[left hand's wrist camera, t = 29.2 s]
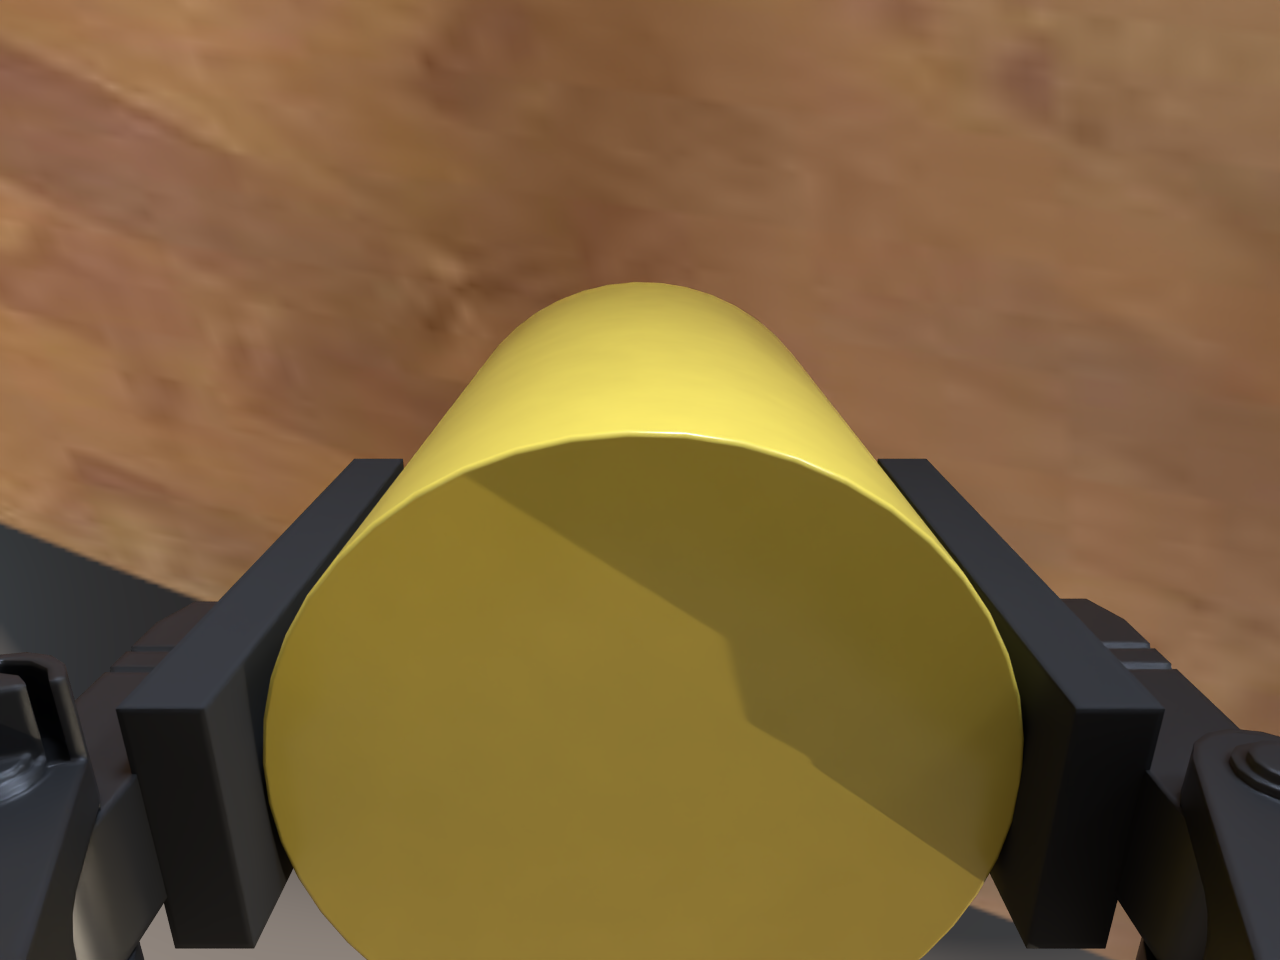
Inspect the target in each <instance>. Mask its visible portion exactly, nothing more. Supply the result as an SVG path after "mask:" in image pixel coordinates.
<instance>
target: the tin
mask: <svg viewBox="0 0 1280 960" xmlns="http://www.w3.org/2000/svg"><path fill="white" fill-rule="evenodd" d="M1023 746H1024V734H1023V723H1022V713H1021V703H1020V695H1019V691H1018V687H1017V683H1016V680H1015V676H1014V672H1013V668H1012V665H1011V661H1010V657H1009V654H1008V651H1007V649H1006V647H1005V645H1004V643H1003V640H1002V638H1001V636H1000V634H999V631H998V629H997V627H996V625H995V622H994V620H993V618H992V616H991V614H990V612H989V610H988V609H987V607H986V606H985V604H984V603H983V601H982V600H981V598H980V597H979V595H978V594H977V592H976V591H975V589H974V588H973V586H972V584H971V583H970V581H969V580H968V578H967V577H966V575H965V574H964V573H963V571H962V570H961V569H960V567H959V566H958V565H957V564H956V562H955V561H954V560H953V559H952V557H951V556H950V555H949V553H948V552H947V551H946V550H945V548H944V547H943V546H942V545H941V543H940V542H939V541H938V539H937V538H936V537H935V536H934V534H933V533H932V532H931V530H930V529H929V528H928V527H927V525H926V524H925V523H924V522H923V520H922V519H921V518H920V516H919V515H918V514H917V513H916V511H915V510H914V509H913V508H912V506H911V505H910V504H909V502H908V501H907V500H906V499H905V497H904V496H903V495H902V494H901V492H900V491H899V490H898V488H897V487H896V486H895V485H894V483H893V482H892V481H891V480H890V478H889V477H888V476H887V474H886V473H885V472H884V471H883V469H882V468H881V467H880V465H879V464H878V463H877V462H876V460H875V459H874V458H873V457H872V455H871V454H870V453H869V451H868V450H867V449H866V448H865V446H864V445H863V444H862V443H861V441H860V440H859V439H858V437H857V436H856V435H855V434H854V432H853V431H852V430H851V429H850V427H849V426H848V425H847V423H846V422H845V421H844V420H843V418H842V417H841V416H840V414H839V413H838V412H837V411H836V409H835V408H834V407H833V406H832V404H831V403H830V402H829V400H828V399H827V398H826V397H825V395H824V394H823V393H822V392H821V390H820V389H819V388H818V386H817V385H816V384H815V383H814V381H813V380H812V379H811V378H810V376H809V375H808V374H807V372H806V371H805V370H804V369H803V367H802V366H801V365H800V363H799V362H798V361H797V360H796V358H795V357H794V356H793V355H792V353H791V352H790V351H789V350H788V349H787V348H786V347H785V346H784V344H783V343H782V342H781V341H780V340H779V339H778V338H777V337H776V336H775V335H774V334H773V333H772V332H771V331H770V330H768V329H767V328H766V327H765V326H764V325H763V324H761V323H760V322H759V321H758V320H757V319H755V318H754V317H752V316H750V315H749V314H747V313H746V312H744V311H743V310H741V309H739V308H738V307H736V306H735V305H733V304H730V303H728V302H726V301H724V300H722V299H720V298H717V297H715V296H713V295H710V294H707V293H704V292H701V291H697V290H694V289H691V288H688V287H682V286H676V285H670V284H664V283H647V282H631V283H621V284H612V285H606V286H601V287H597V288H593V289H589V290H585V291H582V292H579V293H576V294H574V295H571V296H569V297H566V298H563V299H561V300H558V301H557V302H555V303H553V304H551V305H549V306H548V307H546V308H544V309H542V310H540V311H539V312H537V313H535V314H534V315H533V316H531V317H530V318H529V319H527V320H526V321H525V322H523V323H522V324H521V325H519V326H518V327H517V328H515V329H514V330H513V331H512V332H511V333H510V334H509V335H508V336H507V337H506V338H505V339H504V340H503V341H502V342H501V343H500V344H499V345H498V346H497V348H496V349H495V350H494V352H493V353H492V354H491V356H490V357H489V358H488V359H487V361H486V362H485V363H484V365H483V366H482V367H481V369H480V370H479V371H478V372H477V374H476V375H475V376H474V378H473V379H472V380H471V382H470V383H469V384H468V386H467V387H466V388H465V389H464V391H463V392H462V393H461V395H460V396H459V397H458V399H457V400H456V401H455V403H454V404H453V405H452V406H451V408H450V409H449V410H448V412H447V413H446V414H445V416H444V417H443V418H442V420H441V421H440V422H439V423H438V425H437V426H436V427H435V429H434V430H433V431H432V433H431V434H430V435H429V436H428V438H427V439H426V440H425V442H424V443H423V444H422V446H421V447H420V448H419V450H418V451H417V452H416V453H415V455H414V456H413V457H412V459H411V460H410V461H409V463H408V464H407V465H406V467H405V468H404V469H403V470H402V472H401V473H400V474H399V476H398V477H397V478H396V480H395V481H394V482H393V484H392V485H391V486H390V487H389V489H388V490H387V491H386V493H385V494H384V495H383V497H382V498H381V499H380V500H379V502H378V503H377V504H376V506H375V507H374V508H373V510H372V511H371V512H370V514H369V515H368V516H367V517H366V519H365V520H364V521H363V523H362V524H361V525H360V527H359V528H358V529H357V531H356V532H355V533H354V534H353V536H352V537H351V538H350V540H349V541H348V542H347V544H346V545H345V546H344V548H343V549H342V550H341V551H340V553H339V554H338V555H337V557H336V558H335V559H334V561H333V562H332V563H331V565H330V566H329V567H328V568H327V570H326V571H325V572H324V574H323V575H322V576H321V578H320V579H319V580H318V582H317V583H316V584H315V585H314V587H313V588H312V589H311V591H310V592H309V593H308V595H307V596H306V598H305V600H304V602H303V604H302V605H301V607H300V609H299V611H298V613H297V615H296V617H295V618H294V620H293V622H292V624H291V626H290V628H289V629H288V631H287V633H286V635H285V638H284V640H283V643H282V646H281V649H280V652H279V655H278V658H277V660H276V663H275V666H274V669H273V672H272V675H271V678H270V684H269V690H268V695H267V701H266V707H265V712H264V718H263V767H264V773H265V780H266V787H267V794H268V800H269V805H270V808H271V812H272V815H273V818H274V821H275V824H276V828H277V831H278V834H279V837H280V840H281V843H282V845H283V847H284V849H285V851H286V853H287V855H288V858H289V860H290V862H291V864H292V866H293V868H294V870H295V872H296V874H297V876H298V878H299V880H300V881H301V883H302V884H303V886H304V887H305V889H306V890H307V892H308V893H309V895H310V896H311V898H312V899H313V901H314V902H315V904H316V905H317V907H318V908H319V910H320V911H321V913H322V914H323V915H324V916H325V917H326V918H327V919H328V921H329V922H330V923H331V924H332V925H333V926H334V927H335V929H336V930H337V931H338V932H339V933H340V934H341V935H342V937H343V938H344V939H345V940H346V941H347V942H348V943H349V944H350V945H351V946H352V947H353V948H354V949H356V950H357V951H358V952H359V953H360V954H361V955H362V956H363V957H365V958H366V959H367V960H919V959H921V958H922V957H923V956H924V955H925V954H926V953H927V952H928V951H929V950H930V949H931V948H932V947H933V946H934V945H935V944H936V943H937V942H938V941H939V940H940V939H941V938H942V937H943V936H944V935H945V934H946V933H947V932H948V931H949V930H950V929H951V928H952V927H953V926H954V924H955V923H956V922H957V920H958V919H959V918H960V917H961V915H962V914H963V912H964V911H965V910H966V909H967V907H968V906H969V905H970V903H971V902H972V901H973V899H974V898H975V897H976V895H977V894H978V893H979V891H980V889H981V887H982V885H983V884H984V882H985V880H986V878H987V877H988V875H989V873H990V871H991V870H992V868H993V866H994V864H995V863H996V861H997V859H998V857H999V854H1000V851H1001V849H1002V846H1003V844H1004V841H1005V839H1006V836H1007V833H1008V831H1009V828H1010V826H1011V823H1012V819H1013V814H1014V809H1015V804H1016V799H1017V794H1018V789H1019V783H1020V778H1021V771H1022V762H1023Z"/></svg>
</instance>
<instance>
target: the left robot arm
mask: <svg viewBox="0 0 1280 960" xmlns="http://www.w3.org/2000/svg"><path fill="white" fill-rule="evenodd" d="M877 463H878V464H879V465H880V467H881V468H882V469H883V471H884V472H885V473H886V474H887V476H888V477H889V478H890V480H891V481H892V482H893V483H894V485H895V486H896V487H897V488H898V490H899V491H900V492H901V494H902V495H903V496H904V497H905V499H906V500H907V501H908V502H909V504H910V505H911V506H912V508H913V509H914V510H915V511H916V513H917V514H918V515H919V516H920V518H921V519H922V520H923V522H924V523H925V524H926V525H927V527H928V528H929V529H930V530H931V532H932V533H933V534H934V536H935V537H936V538H937V539H938V541H939V542H940V543H941V545H942V546H943V547H944V548H945V550H946V551H947V552H948V553H949V555H950V556H951V557H952V559H953V560H954V561H955V562H956V564H957V565H958V566H959V567H960V569H961V570H962V571H963V573H964V574H965V575H966V577H967V578H968V580H969V581H970V583H971V584H972V586H973V588H974V589H975V591H976V592H977V594H978V595H979V597H980V598H981V600H982V601H983V603H984V604H985V606H986V607H987V609H988V610H989V612H990V614H991V616H992V618H993V620H994V622H995V625H996V627H997V629H998V631H999V634H1000V636H1001V638H1002V640H1003V643H1004V645H1005V647H1006V649H1007V651H1008V654H1009V657H1010V661H1011V665H1012V668H1013V672H1014V676H1015V680H1016V683H1017V687H1018V691H1019V695H1020V703H1021V713H1022V723H1023V734H1024V746H1023V762H1022V771H1021V778H1020V783H1019V789H1018V794H1017V799H1016V804H1015V809H1014V814H1013V819H1012V823H1011V826H1010V828H1009V831H1008V833H1007V836H1006V839H1005V841H1004V844H1003V846H1002V849H1001V851H1000V854H999V857H998V859H997V861H996V863H995V864H994V866H993V868H992V870H991V871H990V875H991V877H992V879H993V881H994V883H995V885H996V887H997V889H998V891H999V893H1000V895H1001V897H1002V899H1003V901H1004V903H1005V905H1006V907H1007V909H1008V911H1009V914H1010V916H1011V918H1012V920H1013V922H1014V924H1015V926H1016V928H1017V930H1018V932H1019V934H1020V936H1021V938H1022V940H1023V942H1024V944H1025V946H1026V948H1099V949H1105V948H1106V944H1107V940H1108V936H1109V932H1110V928H1111V924H1112V920H1113V916H1114V912H1115V908H1116V904H1117V900H1118V901H1119V902H1120V904H1121V906H1122V907H1123V909H1124V910H1125V912H1126V913H1127V915H1128V916H1129V918H1130V919H1131V921H1132V923H1133V924H1134V926H1135V927H1136V929H1137V930H1138V932H1139V933H1140V935H1141V937H1142V938H1141V942H1140V946H1139V949H1138V953H1137V957H1136V960H1280V737H1279V736H1275V735H1271V734H1268V733H1264V732H1258V731H1249V730H1240V729H1239V728H1238V727H1237V726H1236V725H1235V724H1234V723H1233V722H1232V721H1231V720H1230V719H1229V718H1228V717H1227V716H1226V715H1224V714H1223V713H1222V712H1221V711H1220V710H1219V709H1218V708H1217V707H1216V706H1215V705H1214V704H1213V703H1212V702H1211V701H1210V700H1209V699H1208V698H1207V697H1206V696H1204V695H1203V694H1202V693H1201V692H1200V691H1199V690H1198V689H1197V688H1196V687H1195V686H1194V685H1193V684H1192V683H1191V682H1190V681H1189V680H1188V679H1187V678H1185V677H1184V676H1183V675H1182V674H1181V673H1180V672H1179V671H1178V670H1177V669H1172V668H1171V663H1170V662H1169V661H1168V660H1167V659H1165V658H1164V657H1163V656H1162V655H1161V654H1160V653H1159V652H1158V651H1157V650H1156V649H1155V648H1150V643H1149V642H1148V641H1147V640H1145V639H1144V638H1143V637H1142V636H1141V635H1140V634H1139V633H1138V632H1137V631H1136V630H1135V629H1134V628H1133V627H1132V626H1131V625H1130V624H1129V623H1128V622H1127V621H1125V620H1124V619H1123V618H1121V617H1119V616H1117V615H1115V614H1113V613H1111V612H1110V611H1108V610H1106V609H1104V608H1102V607H1100V606H1098V605H1097V604H1095V603H1093V602H1091V601H1089V600H1087V599H1060V598H1059V597H1058V596H1057V595H1056V594H1055V593H1054V592H1053V591H1052V590H1051V589H1050V588H1049V587H1048V586H1047V585H1046V584H1045V583H1044V581H1043V580H1042V579H1041V578H1040V577H1039V576H1038V575H1037V574H1036V573H1035V572H1034V571H1033V570H1032V569H1031V568H1030V567H1029V566H1028V565H1027V564H1026V563H1025V562H1024V561H1023V560H1022V558H1021V557H1020V556H1019V555H1018V554H1017V553H1016V552H1015V551H1014V550H1013V549H1012V548H1011V547H1010V546H1009V545H1008V544H1007V543H1006V542H1005V541H1004V540H1003V539H1002V538H1001V537H1000V535H999V534H998V533H997V532H996V531H995V530H994V529H993V528H992V527H991V526H990V525H989V524H988V523H987V522H986V521H985V520H984V519H983V518H982V517H981V516H980V515H979V514H978V512H977V511H976V510H975V509H974V508H973V507H972V506H971V505H970V504H969V503H968V502H967V501H966V500H965V499H964V498H963V497H962V496H961V495H960V494H959V493H958V492H957V491H956V489H955V488H954V487H953V486H952V485H951V484H950V483H949V482H948V481H947V480H946V479H945V478H944V477H943V476H942V475H941V474H940V473H939V472H938V471H937V470H936V469H935V468H934V466H933V465H932V464H931V463H930V462H929V461H928V460H927V459H878V462H877ZM403 469H404V466H403V459H354V460H353V461H352V462H351V463H350V464H349V465H348V466H347V467H346V468H345V469H344V470H343V471H342V472H341V473H340V474H339V475H338V477H337V478H336V479H335V480H334V481H333V482H332V483H331V484H330V485H329V486H328V487H327V488H326V489H325V490H324V491H323V492H322V493H321V494H320V495H319V496H318V497H317V498H316V500H315V501H314V502H313V503H312V504H311V505H310V506H309V507H308V508H307V509H306V510H305V511H304V512H303V513H302V514H301V515H300V516H299V517H298V518H297V519H296V520H295V522H294V523H293V524H292V525H291V526H290V527H289V528H288V529H287V530H286V531H285V532H284V533H283V534H282V535H281V536H280V537H279V538H278V539H277V540H276V541H275V542H274V543H273V545H272V546H271V547H270V548H269V549H268V550H267V551H266V552H265V553H264V554H263V555H262V556H261V557H260V558H259V559H258V560H257V561H256V562H255V563H254V564H253V565H252V566H251V568H250V569H249V570H248V571H247V572H246V573H245V574H244V575H243V576H242V577H241V578H240V579H239V580H238V581H237V582H236V583H235V584H234V585H233V586H232V587H231V588H230V589H229V591H228V592H227V593H226V594H225V595H224V596H223V597H222V598H221V599H220V600H219V601H218V602H194V603H192V604H190V605H188V606H186V607H185V608H183V609H181V610H179V611H177V612H175V613H173V614H172V615H170V616H168V617H166V618H164V619H162V620H161V621H159V622H157V623H156V624H155V625H154V626H153V627H152V628H151V629H150V630H149V631H148V632H147V633H145V634H144V635H143V636H142V637H141V638H140V639H139V640H138V641H137V642H136V643H135V644H134V645H133V646H132V650H131V652H126V653H125V654H124V655H122V657H120V658H119V659H118V660H117V661H116V662H115V663H114V664H113V665H112V666H111V667H110V672H105V673H104V674H103V675H102V676H101V677H100V678H98V679H97V680H96V681H95V682H94V683H93V684H92V685H91V686H90V687H89V688H88V689H87V690H86V691H85V692H84V693H83V694H82V695H81V696H80V697H79V698H78V699H77V700H74V696H73V692H72V689H71V685H70V682H69V678H68V674H67V670H66V666H65V664H63V663H62V662H60V661H59V660H57V659H56V658H54V657H53V656H51V655H43V654H35V653H28V652H26V653H15V654H3V655H0V960H144V957H143V953H142V949H141V946H140V942H139V941H140V939H141V938H142V936H143V935H144V933H145V931H146V930H147V928H148V927H149V925H150V924H151V922H152V921H153V919H154V917H155V916H156V914H157V913H158V911H159V910H160V908H161V907H162V905H163V903H164V905H165V909H166V913H167V917H168V921H169V925H170V929H171V933H172V937H173V941H174V945H175V948H254V947H255V945H256V943H257V941H258V939H259V937H260V935H261V933H262V931H263V929H264V927H265V925H266V923H267V921H268V919H269V917H270V915H271V913H272V911H273V909H274V907H275V905H276V903H277V900H278V898H279V896H280V894H281V892H282V890H283V888H284V886H285V884H286V882H287V880H288V878H289V876H290V874H291V872H292V870H293V866H292V864H291V862H290V860H289V858H288V855H287V853H286V851H285V849H284V847H283V845H282V843H281V840H280V837H279V834H278V831H277V828H276V824H275V821H274V818H273V815H272V812H271V808H270V805H269V800H268V794H267V787H266V780H265V773H264V767H263V718H264V712H265V707H266V701H267V695H268V690H269V684H270V678H271V675H272V672H273V669H274V666H275V663H276V660H277V658H278V655H279V652H280V649H281V646H282V643H283V640H284V638H285V635H286V633H287V631H288V629H289V628H290V626H291V624H292V622H293V620H294V618H295V617H296V615H297V613H298V611H299V609H300V607H301V605H302V604H303V602H304V600H305V598H306V596H307V595H308V593H309V592H310V591H311V589H312V588H313V587H314V585H315V584H316V583H317V582H318V580H319V579H320V578H321V576H322V575H323V574H324V572H325V571H326V570H327V568H328V567H329V566H330V565H331V563H332V562H333V561H334V559H335V558H336V557H337V555H338V554H339V553H340V551H341V550H342V549H343V548H344V546H345V545H346V544H347V542H348V541H349V540H350V538H351V537H352V536H353V534H354V533H355V532H356V531H357V529H358V528H359V527H360V525H361V524H362V523H363V521H364V520H365V519H366V517H367V516H368V515H369V514H370V512H371V511H372V510H373V508H374V507H375V506H376V504H377V503H378V502H379V500H380V499H381V498H382V497H383V495H384V494H385V493H386V491H387V490H388V489H389V487H390V486H391V485H392V484H393V482H394V481H395V480H396V478H397V477H398V476H399V474H400V473H401V472H402V470H403Z"/></svg>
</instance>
